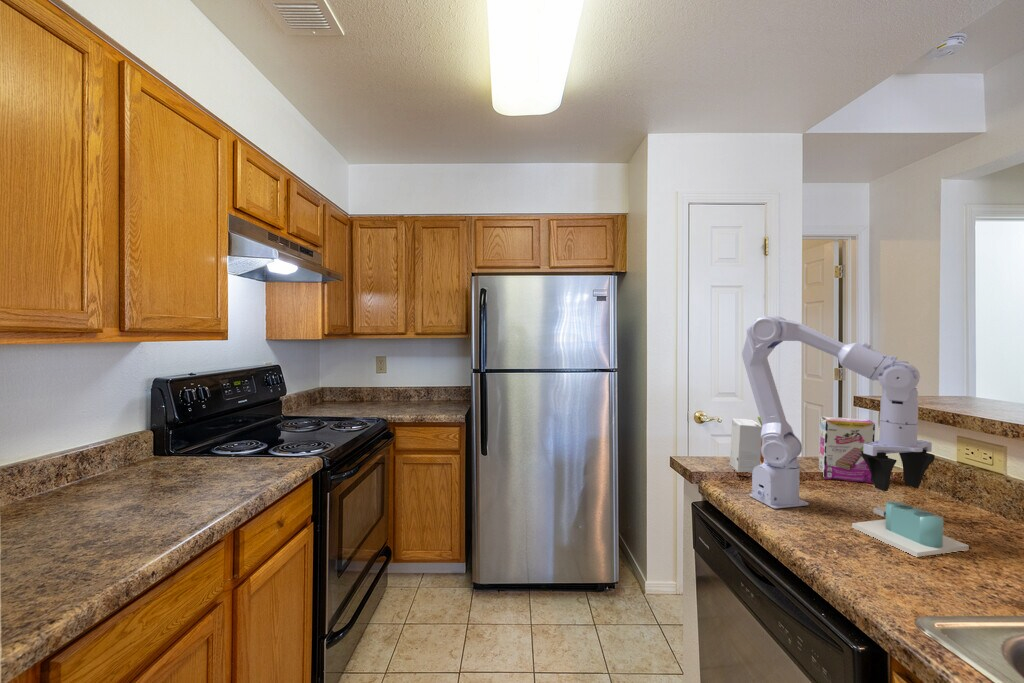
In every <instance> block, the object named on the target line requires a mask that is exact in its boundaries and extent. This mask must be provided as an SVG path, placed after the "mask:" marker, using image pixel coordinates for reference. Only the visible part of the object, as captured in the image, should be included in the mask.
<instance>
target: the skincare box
mask: <svg viewBox="0 0 1024 683" xmlns="http://www.w3.org/2000/svg"><path fill="white" fill-rule="evenodd" d="M761 431H762V426H761V424H759V422H756V421H755V420H753V419H749V418H736V417H735V418H731V440H730V456H729V457H730V460H729V466H730V465H731V466H733V467H734V468H735V469H736V470H737V471H745V472H750V473H752V472H753V469H754V468H755V467H756V466H758V465H761V461H760V457H761Z"/></svg>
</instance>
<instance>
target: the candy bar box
mask: <svg viewBox="0 0 1024 683" xmlns="http://www.w3.org/2000/svg"><path fill="white" fill-rule="evenodd" d="M819 421H820V423H819V424H820V425H819V427H820V428H819V451H818V453H819V456H818V470H819V469H820V470H821V471H822V472H823V477H824V478H823V477H822V478H823V479H824V480H835V481H844V482H845V481H846V482H854V483H855V482H857V483H867V484H874V482H873V479H872V475H871V472H870V470H869V468H868V466H867V464H866V462H865V460H864V459H863V457H862V456H861V452H862V451H863V446H864V444H868V443H872V442H875V436H876V435H875V433H876V423H875V422H874V421H872V420H870V419H865V418H853V417H852V418H849V417H846V418H845V417H838V416H837V417H836V416H835V417H834V416H820V420H819Z"/></svg>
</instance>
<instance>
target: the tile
mask: <svg viewBox="0 0 1024 683" xmlns="http://www.w3.org/2000/svg"><path fill="white" fill-rule="evenodd" d="M885 523H886V518H885V519H884V518H883V519H877V520H876V519H874V520H868V521H859V522H851V527H852V529H853V528H854V530H855V531H858V530H859V531H858V532H860V531H861V532H860V533H862V532H863V533H862V534H864V533H865V534H864V535H866V534H867V535H866V536H868V535H869V536H868V537H871V538H873V537H874V538H873V539H875V538H876V539H875V540H877V539H878V541H879V540H880V542H881V541H882V543H883V542H884V543H883V544H886V545H888V544H889V545H888V546H890V545H891V546H890V547H892V546H894V547H896V548H898V549H900V550H899V551H901V550H902V551H901V552H903V551H904V552H903V553H905V552H907V553H909V554H911V555H913V556H916V557H919V556H925V555H932V554H941V553H947V552H954V551H962V550H970V549H969V548H970V546H969V545H968V544H967V543H963V542H961V541H958V540H956V539H953V538H951V537H949V536H946V535H944V534H943V547H941V548H934V547H928V546H925V545H922V544H919V543H917V542H915V541H912V540H910V539H908V538H905V537H903V536H901V535H898V534H896V533H894V532H891V531H889V530H887V529H886V528H885ZM894 547H893V548H894ZM896 548H895V549H896ZM898 549H897V550H898ZM907 553H906V554H907ZM909 554H908V555H909ZM911 555H910V556H911ZM913 556H912V557H913ZM916 557H915V558H916Z"/></svg>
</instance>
